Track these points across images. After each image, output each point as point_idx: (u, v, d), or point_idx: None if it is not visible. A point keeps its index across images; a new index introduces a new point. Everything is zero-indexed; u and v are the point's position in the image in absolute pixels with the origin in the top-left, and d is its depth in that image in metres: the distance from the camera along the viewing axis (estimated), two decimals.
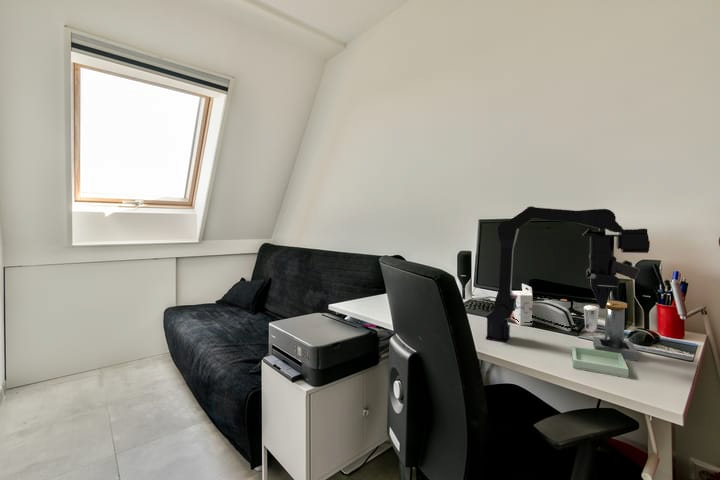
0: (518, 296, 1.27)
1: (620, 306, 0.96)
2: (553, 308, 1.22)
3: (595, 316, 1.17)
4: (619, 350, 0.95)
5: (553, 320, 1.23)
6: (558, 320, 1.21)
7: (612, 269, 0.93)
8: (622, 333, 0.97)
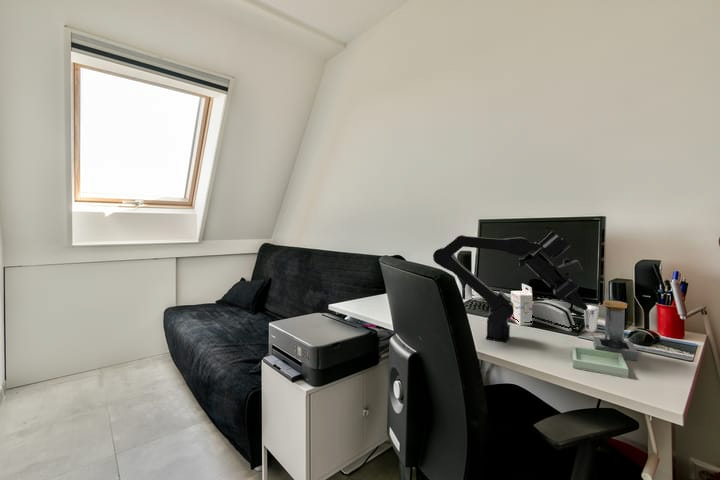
0: (518, 296, 1.27)
1: (620, 306, 0.96)
2: (554, 308, 1.22)
3: (595, 316, 1.17)
4: (619, 350, 0.95)
5: (553, 320, 1.23)
6: (559, 320, 1.21)
7: (562, 275, 1.01)
8: (622, 333, 0.97)
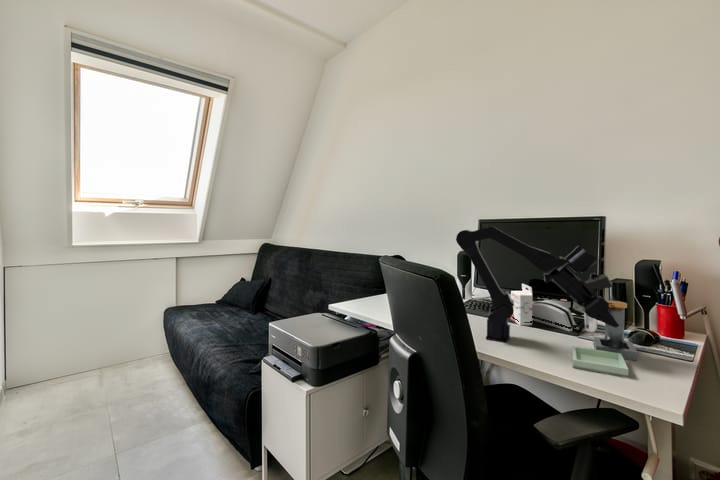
0: (518, 296, 1.27)
1: (620, 306, 0.96)
2: (554, 308, 1.22)
3: None
4: (619, 350, 0.95)
5: (554, 320, 1.23)
6: (559, 320, 1.21)
7: (590, 291, 0.99)
8: (622, 333, 0.97)
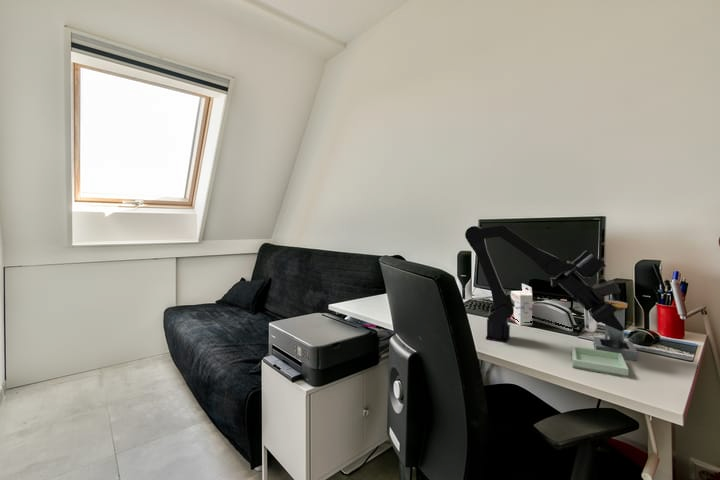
0: (518, 296, 1.27)
1: (620, 306, 0.96)
2: (555, 308, 1.22)
3: None
4: (619, 350, 0.95)
5: (555, 320, 1.23)
6: (560, 320, 1.21)
7: (598, 296, 0.98)
8: (622, 333, 0.97)
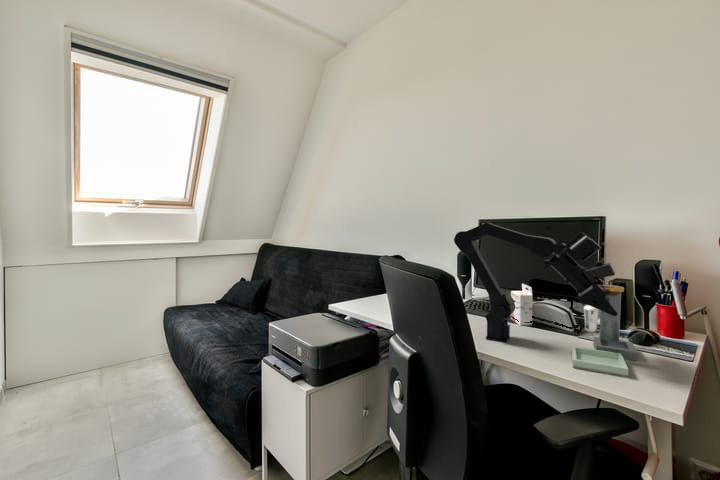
0: (518, 296, 1.27)
1: (614, 290, 0.91)
2: (556, 308, 1.21)
3: (595, 316, 1.17)
4: (619, 350, 0.95)
5: (555, 320, 1.23)
6: (561, 320, 1.21)
7: (590, 279, 0.94)
8: (617, 319, 0.92)
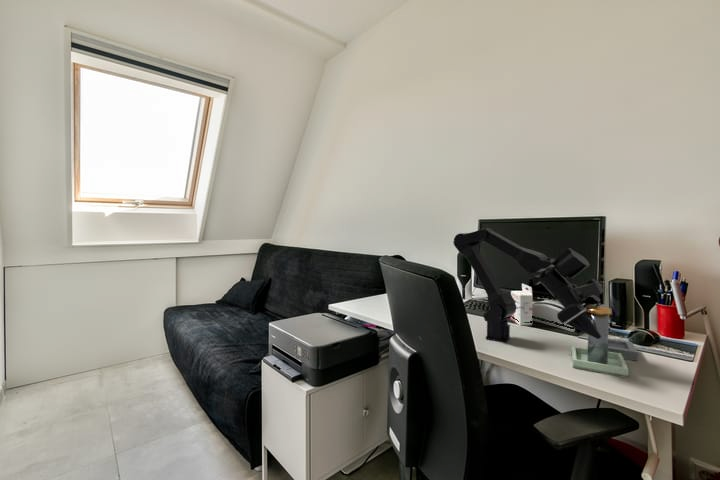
0: (518, 296, 1.27)
1: (598, 312, 0.88)
2: (557, 308, 1.21)
3: None
4: (619, 350, 0.95)
5: (556, 320, 1.23)
6: None
7: (575, 297, 0.92)
8: (603, 342, 0.88)
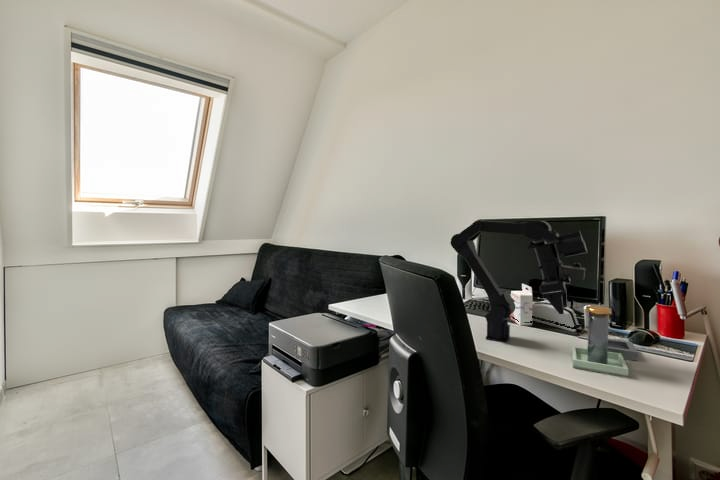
0: (518, 296, 1.27)
1: (598, 312, 0.88)
2: None
3: None
4: (619, 350, 0.95)
5: (557, 321, 1.23)
6: (563, 321, 1.21)
7: (560, 274, 0.98)
8: (603, 342, 0.88)
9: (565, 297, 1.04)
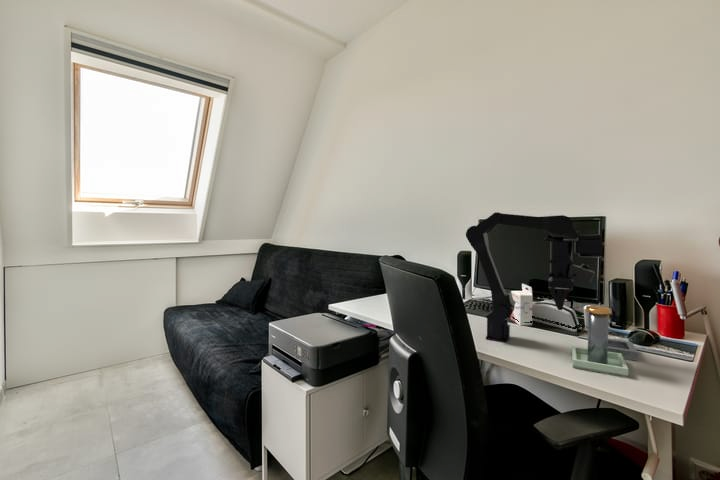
0: (518, 296, 1.27)
1: (598, 312, 0.88)
2: None
3: None
4: (619, 350, 0.95)
5: (558, 321, 1.23)
6: (564, 321, 1.21)
7: (569, 272, 0.98)
8: (603, 342, 0.88)
9: None
